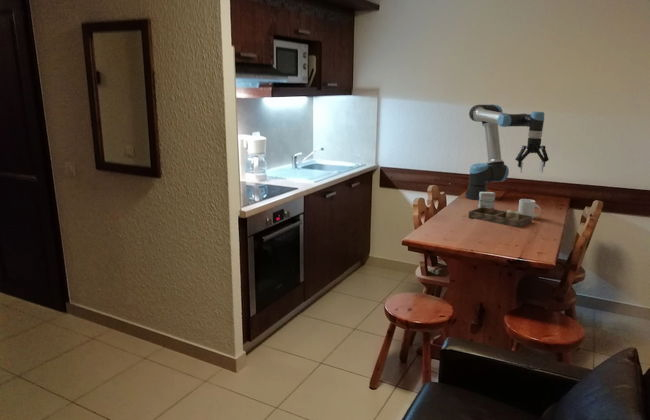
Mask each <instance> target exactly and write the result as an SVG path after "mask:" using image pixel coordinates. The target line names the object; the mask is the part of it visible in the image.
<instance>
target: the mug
mask: <svg viewBox="0 0 650 420" xmlns="http://www.w3.org/2000/svg"><path fill="white" fill-rule="evenodd" d="M518 201H519V202H518V210H517V211H519V214H523V215H528V216H532V220H533V219H534V218H537V217H539V216H540V214H541V210H542V209H541V207H540V205H538V204H537V203H536V200H534V199H529V198H528V199H527V198H520V199H519V200H518ZM535 208H537V209H538V210H539V212H538V214H535Z"/></svg>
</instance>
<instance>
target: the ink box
mask: <svg viewBox="0 0 650 420" xmlns="http://www.w3.org/2000/svg"><path fill="white" fill-rule="evenodd" d="M495 200H496V193H495V192H493V191H487V192H480V193H479V200H478V206H477V208H480V207H486V208H491V209H495V203H496V202H495Z"/></svg>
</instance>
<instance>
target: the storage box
mask: <svg viewBox="0 0 650 420" xmlns="http://www.w3.org/2000/svg"><path fill="white" fill-rule="evenodd" d="M507 211H508V210H506V211H505V210H501V209H496V208H494V209H491V208H486V207H480V208H478V207H477V208H475V209H472V210H469V211H468V219H472V220H474V219H476V220H480V221H487V222H490V223H494V224H500V225H505V226H510V227H514V228H519V229H520V228H522V227H524V226H527V225H528V224H530V223H531V224H532V222H533V221H532V220H533V219H532V216H528V215H523V214H519V220H518V221H517V220H512V219H507V218H506V212H507Z"/></svg>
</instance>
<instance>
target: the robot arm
mask: <svg viewBox="0 0 650 420" xmlns="http://www.w3.org/2000/svg"><path fill="white" fill-rule="evenodd" d="M468 116H469V118H470V120H471V121H473V122H479V123H480V122H481V125H482V126H483V127H484V132H485V142H486V152H487V153H486V154H487V162H486V163H485V162H479V163H474V164H473V163H472V165H471V166H470V169H469V178H468V187H467V190H466V192H465V195H464V198H465V199H469V200H473V201H474V200H476V201H479V193H480V192H488V188H487V183H499V182H504V181H506V179H508V177H509V171H510V170H509V167H508V166H507V165H506V164H505V161H504V160H503V159H502V152H501V145H500V133H499V127H503V128H506V127H508V128H509V127H528V136H527V145H522V146H521V149H520V151H519V152H518V154H517V156H516V158H515V161H517V167H518V171H517V172H518V173H520V174H521V173H522V172H523V166H524V165H523V164H524V162H523V161H524V160H525V158H527V156H529V154H537V157H539V159H540V164H539V169H538V170H539V172H540V173H541V174H542V173H543V172H544V167H546V163H547V162H549V156H548V153H547V150H546V145H541V144H542V135H543V128H544V122H545V112H544V111H532V112H531V113H530V114H529V113H514V114H513V113H506V112H505V113H504V112H503V110H502V107H501V106H499V105H498V104H476V105H473V106H472V107H471V108H470V109H469V112H468ZM540 150H541V151H540Z"/></svg>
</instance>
